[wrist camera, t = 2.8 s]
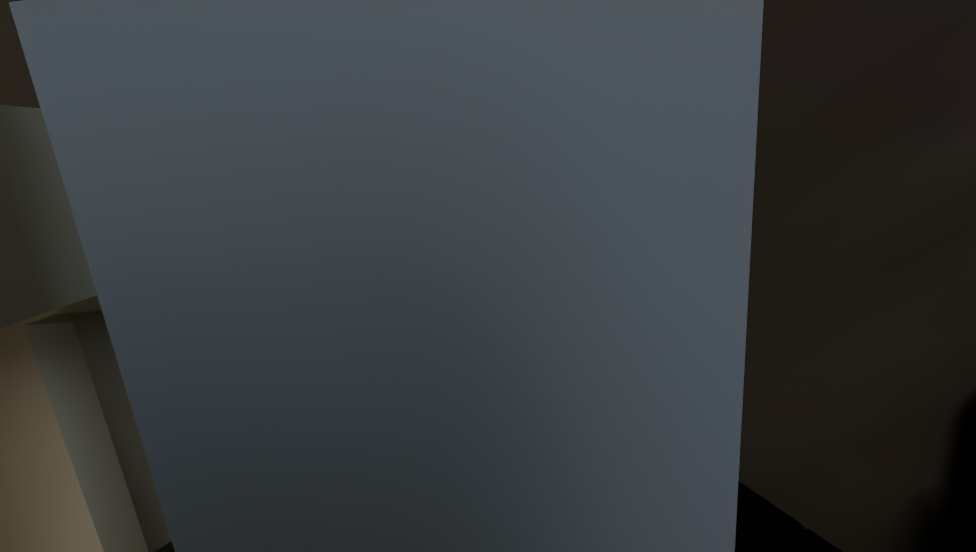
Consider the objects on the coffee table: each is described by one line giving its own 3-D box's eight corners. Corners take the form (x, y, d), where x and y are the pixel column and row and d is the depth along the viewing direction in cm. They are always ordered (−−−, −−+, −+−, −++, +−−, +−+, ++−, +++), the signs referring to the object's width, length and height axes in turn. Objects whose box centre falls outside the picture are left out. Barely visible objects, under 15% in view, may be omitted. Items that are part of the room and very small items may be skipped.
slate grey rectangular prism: (602, 73, 8) (771, -104, 2) (617, 686, 12) (699, 1207, 6) (355, 98, 9) (10, 2, 3) (440, 681, 12) (358, 1159, 6)
